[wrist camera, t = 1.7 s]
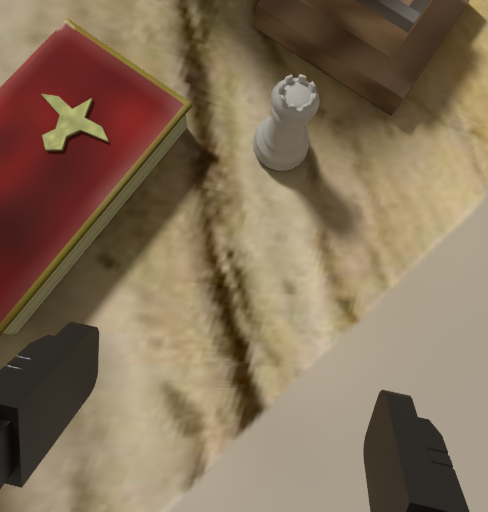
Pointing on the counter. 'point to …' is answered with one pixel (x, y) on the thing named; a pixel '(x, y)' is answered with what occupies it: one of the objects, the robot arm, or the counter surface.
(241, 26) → the counter surface
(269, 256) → the counter surface
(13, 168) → the hardcover book
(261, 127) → the rook chess piece
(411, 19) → the walnut plinth
